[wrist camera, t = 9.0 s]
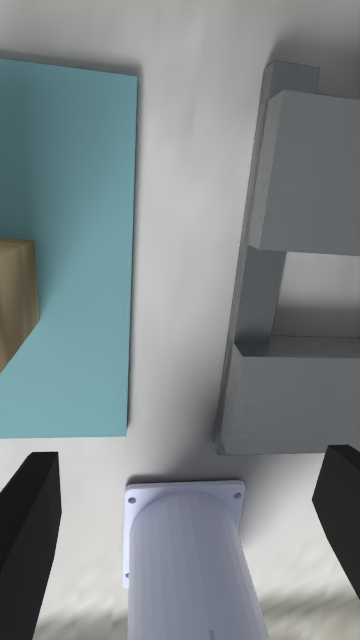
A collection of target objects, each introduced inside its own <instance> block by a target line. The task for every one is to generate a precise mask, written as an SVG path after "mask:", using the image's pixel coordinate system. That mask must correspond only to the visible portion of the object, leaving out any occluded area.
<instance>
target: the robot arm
mask: <svg viewBox="0 0 360 640" xmlns="http://www.w3.org/2000/svg"><path fill="white" fill-rule="evenodd" d="M245 490H246V487H245V484H244V483H243V481H241V480H229V481H202V482H174V483H147V484H130V485H128V486H127V487H126V488H125V494H124V526H123V558H122V587H123V588H125V589H128V640H270V638H269V635H268V632H267V628H266V625H265V622H264V619H263V615H262V612H261V609H260V605H259V602H258V599H257V595H256V592H255V589H254V585H253V582H252V579H251V576H250V572H249V569H248V566H247V562H246V559H245V556H244V552H243V549H242V546H241V543H240V539H239V536H238V528H239V522H240V517H241V511H242V506H243V501H244V495H245ZM236 493H238V494H236ZM131 497H134V498H131ZM312 502H313V504H314V507H315V510H316V512H317V515H318V518H319V520H320V523H321V525H322V527H323V530H324V532H325V535H326V537H327V539H328V541H329V543H330V545H331V547H332V549H333V551H334V553H335V555H336V557H337V559H338V560H339V562H340V564H341V566H342V568H343V570H344V572H345V574H346V575H347V577H348V579H349V581H350V583H351V585H352V586H353V588H354V590H355V592H356V594H357V596H358V598H359V599H360V452H359V451H358V450H356V449H355V448H353V447H352V446H350V445H348V444H346V445H328V447H327V450H326V453H325V457H324V460H323V464H322V467H321V470H320V474H319V477H318V480H317V484H316V487H315V490H314V494H313V497H312ZM61 513H62V509H61V492H60V475H59V458H58V452H32V453H31V454H30V455H28V456H27V458H26V459H25V461H24V462H23V463H22V465H21V466H20V467H19V469H18V470H17V471H16V473H15V474H14V475H13V477H12V478H11V479H10V481H9V482H8V483H7V485H6V486H5V487H4V488H3V490H2V491H1V492H0V640H32V638H33V635H34V631H35V627H36V623H37V620H38V616H39V612H40V609H41V605H42V601H43V598H44V594H45V590H46V586H47V582H48V579H49V575H50V571H51V567H52V564H53V560H54V555H55V549H56V543H57V538H58V532H59V525H60V519H61Z"/></svg>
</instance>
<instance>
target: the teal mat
mask: <svg viewBox="0 0 360 640" xmlns="http://www.w3.org/2000/svg"><path fill="white" fill-rule="evenodd" d="M136 109H137V76H131V75H123V74H116V73H108V72H101V71H93V70H86V69H78V68H70V67H63V66H55V65H48V64H40V63H33V62H25V61H18V60H10V59H2V58H0V238H10V239H26V240H34V245H35V260H36V276H37V291H38V306H39V323H38V324H37V325H36V327H35V328H34V329H33V331H32V332H31V333H30V335H29V336H28V337H27V339H26V340H25V341H24V343H23V344H22V346H21V347H20V348H19V350H18V351H17V352H16V354H15V355H14V356H13V358H12V359H11V360H10V362H9V363H8V364H7V366H6V367H5V368H4V370H3V371H2V372H1V374H0V439H2V438H62V437H121V436H126V430H127V398H128V366H129V334H130V302H131V269H132V237H133V205H134V173H135V141H136Z"/></svg>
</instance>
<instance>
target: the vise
mask: <svg viewBox="0 0 360 640" xmlns="http://www.w3.org/2000/svg"><path fill="white" fill-rule="evenodd" d="M319 69H320V67H313V66H306V65H299V64H293V63H286V62H279V61H273V62H272V63H271V64H270V65H269V66H268V67H267V68H266V69H265V70H264V73H263V81H262V88H261V95H260V103H259V110H258V117H257V125H256V132H255V139H254V147H253V154H252V161H251V169H250V176H249V183H248V191H247V198H246V205H245V213H244V220H243V227H242V235H241V242H240V249H239V257H238V264H237V271H236V279H235V286H234V293H233V301H232V308H231V315H230V323H229V330H228V337H227V344H226V352H225V359H224V366H223V374H222V381H221V388H220V396H219V403H218V410H217V418H216V425H215V432H214V440H213V442H214V446H215V449H216V452H217V455H257V454H296V453H326V450H327V447H328V445H346V444H348V445H350V446H352V447H353V448H355V449H356V450H358V451H359V452H360V338H339V337H301V336H271V332H272V327H273V321H274V316H275V310H276V305H277V299H278V294H279V288H280V283H281V277H282V272H283V266H284V261H285V255H286V251H290V252H305V253H321V254H337V255H353V256H360V100H356V99H348V98H341V97H334V96H326V95H319V94H315V91H316V86H317V80H318V75H319Z"/></svg>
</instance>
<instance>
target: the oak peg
mask: <svg viewBox="0 0 360 640" xmlns="http://www.w3.org/2000/svg"><path fill="white" fill-rule="evenodd" d="M38 323H39V306H38V291H37V276H36V260H35V245H34V240H26V239H10V238H0V374H1V372H2V371H3V370H4V368H5V367H6V366H7V364H8V363H9V362H10V360H11V359H12V358H13V356H14V355H15V354H16V352H17V351H18V350H19V348H20V347H21V346H22V344H23V343H24V341H25V340H26V339H27V337H28V336H29V335H30V333H31V332H32V331H33V329H34V328H35V327H36V325H37V324H38Z"/></svg>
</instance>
